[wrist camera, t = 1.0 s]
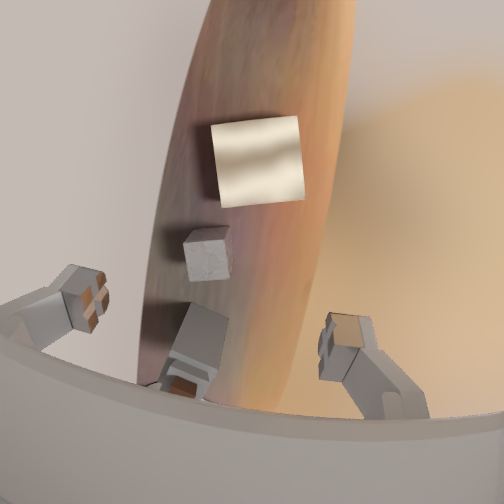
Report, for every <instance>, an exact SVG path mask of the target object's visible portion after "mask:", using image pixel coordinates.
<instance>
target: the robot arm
mask: <svg viewBox="0 0 504 504" xmlns="http://www.w3.org/2000/svg"><path fill="white" fill-rule="evenodd" d="M105 283H106V276H105V274H104V272H102V271H98V270H94V269H90V268H86V267H81V266H77V265H74V264H70V265H68V266H67V267H66V268H65V269H64V270H63V271H62V272H61V273H60V274H59V276H58V277H57V278H56V279H55V280H54V281H53V282H52V283H51V284H50V286H49V287H43V288H41V289H38V290H36V291H33V292H31V293H28V294H26V295H24V296H21V297H19V298H17V299H14V300H12V301H10V302H8V303H5V304H3V305H1V306H0V504H504V411H501V412H495V413H489V414H481V415H472V416H463V417H450V418H435V419H430V416H429V412H428V407H427V403H426V399H425V395H424V392H423V391H422V390H421V389H420V388H419V387H418V386H417V385H416V384H415V383H414V382H413V381H412V380H411V379H410V377H409V376H408V375H406V373H405V372H404V371H403V370H402V369H401V368H400V367H399V366H398V365H397V364H396V363H395V362H394V361H393V360H392V359H391V358H390V357H389V356H388V355H387V354H386V353H385V352H384V351H383V350H379V348H378V343H377V339H376V335H375V331H374V327H373V322H372V319H371V318H370V317H369V316H359V315H348V314H340V313H332V312H329V313H328V315H327V318H326V327H325V328H324V329H322V332H321V335H320V338H319V343H318V355H319V356H320V358H321V360H320V363H319V379H320V380H327V381H336V382H342V384H343V386H344V387H345V389H346V390H347V392H348V393H349V395H350V396H351V398H352V399H353V401H354V402H355V404H356V405H357V407H358V408H359V410H360V411H361V413H362V414H363V416H364V417H365V418H364V419H341V418H325V417H313V416H302V415H291V414H283V413H275V412H267V411H260V410H253V409H247V408H240V407H234V406H229V405H223V404H218V403H213V402H209V401H206V400H204V399H203V398H202V399H201V400H198V399H193V398H188V397H184V396H180V395H175V394H171V393H167V392H163V391H159V390H160V388H161V385H162V384H161V383H154V384H151V385H149V386H147V387H144V386H140V385H137V384H133V383H129V382H126V381H123V380H119V379H116V378H113V377H110V376H106V375H104V374H100V373H97V372H94V371H91V370H88V369H86V368H82V367H80V366H77V365H74V364H72V363H69V362H66V361H64V360H61V359H58V358H56V357H53V356H51V355H48V354H46V353H43V352H41V350H42V349H44V348H46V347H47V346H48V345H50V344H51V343H53V342H55V341H56V340H58V339H59V338H61V337H62V336H64V335H65V334H67V333H68V332H70V331H72V330H73V329H76V330H79V331H83V332H87V333H90V334H91V333H92V332H93V330H94V328H95V327H96V325H97V324H98V322H99V321H98V317H99V316H101V315H103V314H104V313H105V311H106V310H107V307H108V304H109V291H108V289H107V288H106V287H105V285H104V284H105Z"/></svg>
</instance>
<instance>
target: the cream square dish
mask: <svg viewBox="0 0 504 504" xmlns="http://www.w3.org/2000/svg"><path fill="white" fill-rule="evenodd" d="M211 131H212V138H213V146H214V154H215V162H216V169H217V177H218V184H219V191H220V198H221V206H222V208H227V207H236V206H245V205H254V204H263V203H273V202H283V201H294V200H304V199H305V189H304V178H303V167H302V157H301V147H300V138H299V129H298V120H297V116H287V117H276V118H266V119H256V120H248V121H240V122H232V123H225V124H218V125H211Z"/></svg>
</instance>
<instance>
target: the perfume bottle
mask: <svg viewBox="0 0 504 504" xmlns="http://www.w3.org/2000/svg"><path fill="white" fill-rule="evenodd" d="M228 320H229V318H226V317H224V316H222V315H220V314H217V313H215V312H213V311H211V310H208V309H206V308H204V307H202V306H199V305H197V304H195V303H193V302H191V304H190V307H189V309H188V311H187V313H186V316H185V318H184V320H183V323H182V325H181V327H180V329H179V332H178V334H177V336H176V339H175V341H174V343H173V346H172V348H171V350H170V353H169V355H168V358H167V360H166V362H165V365H164V367H163V369H162V372H161V374H160V377H159V379H158V381H157V382H159V383H161V384H162V385H161V388H160V390H159V391H163V392H167V393H171V394H175V395H180V396H184V397H188V398H193V399H198V400H201V399H202V398H203V396H204V394H205V393H206V391H207V389H208V387H209V386H210V384H211V382H212V381H213V379H214V377H215V375H216V374H217V372H218V370H219V366H220V361H221V356H222V351H223V346H224V341H225V335H226V330H227V325H228Z"/></svg>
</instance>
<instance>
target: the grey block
mask: <svg viewBox="0 0 504 504" xmlns="http://www.w3.org/2000/svg"><path fill="white" fill-rule="evenodd" d="M183 246H184V252H185V258H186V264H187V270H188V275H189V281H190V282H192V281H207V280H222V279H230V275H231V271H232V267H233V263H234V255H233V247H232V239H231V231H230V226H223V227H212V228H202V229H194V230H193V231H192V232H191V234H190V235H189V236H188V237H187V239H186V240H185V241H184V242H183Z"/></svg>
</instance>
